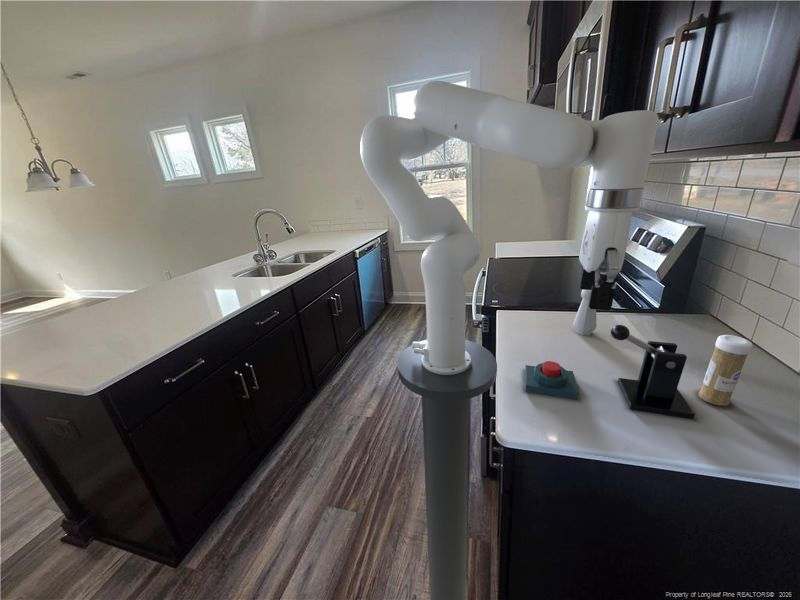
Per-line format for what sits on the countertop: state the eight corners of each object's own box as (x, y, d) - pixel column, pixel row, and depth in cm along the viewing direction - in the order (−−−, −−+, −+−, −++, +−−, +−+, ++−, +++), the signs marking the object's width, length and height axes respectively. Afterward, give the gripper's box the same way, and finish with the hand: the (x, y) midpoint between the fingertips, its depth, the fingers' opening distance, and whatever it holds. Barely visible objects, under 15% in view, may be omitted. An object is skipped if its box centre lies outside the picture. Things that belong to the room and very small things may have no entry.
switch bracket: (629, 409, 62) (643, 357, 57) (617, 382, 69) (628, 334, 65) (693, 419, 58) (713, 365, 54) (673, 389, 66) (688, 340, 62)
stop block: (525, 391, 68) (526, 378, 67) (524, 371, 75) (526, 358, 74) (577, 399, 65) (580, 385, 64) (571, 377, 72) (574, 364, 71)
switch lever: (609, 337, 61) (620, 326, 59) (605, 330, 63) (616, 319, 62) (668, 370, 59) (681, 359, 58) (662, 361, 62) (674, 350, 61)
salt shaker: (567, 329, 93) (573, 288, 88) (583, 326, 94) (590, 285, 89) (583, 338, 88) (591, 294, 83) (599, 334, 89) (608, 291, 84)
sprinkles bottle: (723, 410, 60) (748, 348, 55) (693, 397, 64) (713, 338, 59) (733, 401, 62) (757, 340, 57) (703, 389, 66) (723, 331, 61)
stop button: (542, 375, 68) (543, 369, 67) (541, 366, 71) (542, 360, 70) (560, 378, 67) (562, 371, 66) (559, 368, 70) (560, 362, 69)
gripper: (578, 196, 60) (565, 282, 66) (596, 206, 45) (577, 316, 51) (625, 195, 57) (606, 284, 64) (660, 205, 42) (632, 320, 49)
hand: (593, 298), depth 57 cm, fingers open, 9 cm apart
